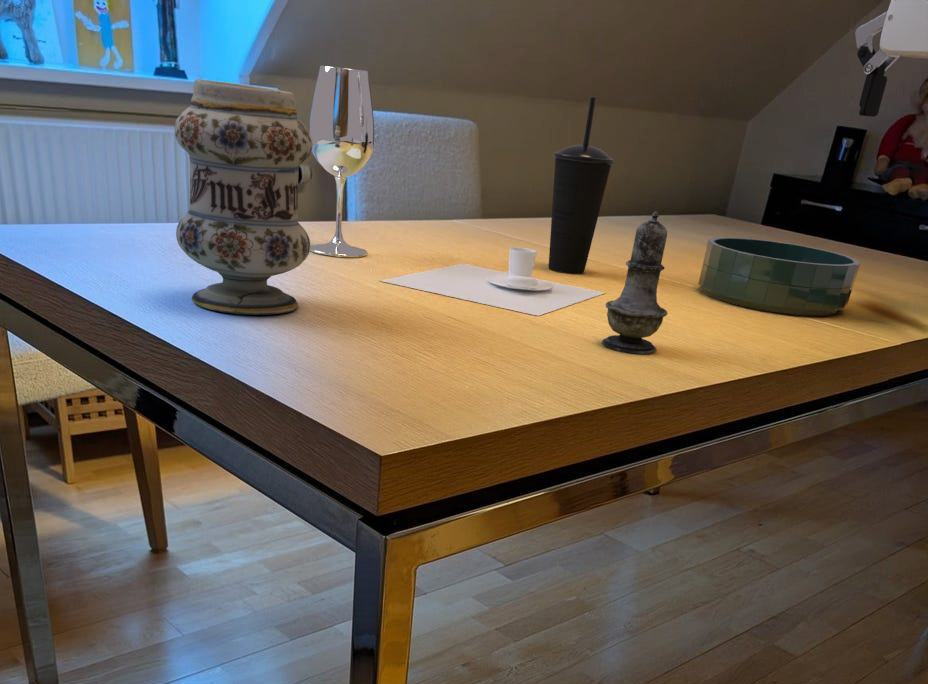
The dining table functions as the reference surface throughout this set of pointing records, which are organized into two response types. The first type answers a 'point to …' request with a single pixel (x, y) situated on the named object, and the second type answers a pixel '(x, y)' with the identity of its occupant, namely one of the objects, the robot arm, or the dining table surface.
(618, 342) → the salt shaker
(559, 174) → the drinking cup
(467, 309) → the dining table surface
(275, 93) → the apothecary jar
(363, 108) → the wineglass
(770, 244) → the bowl
